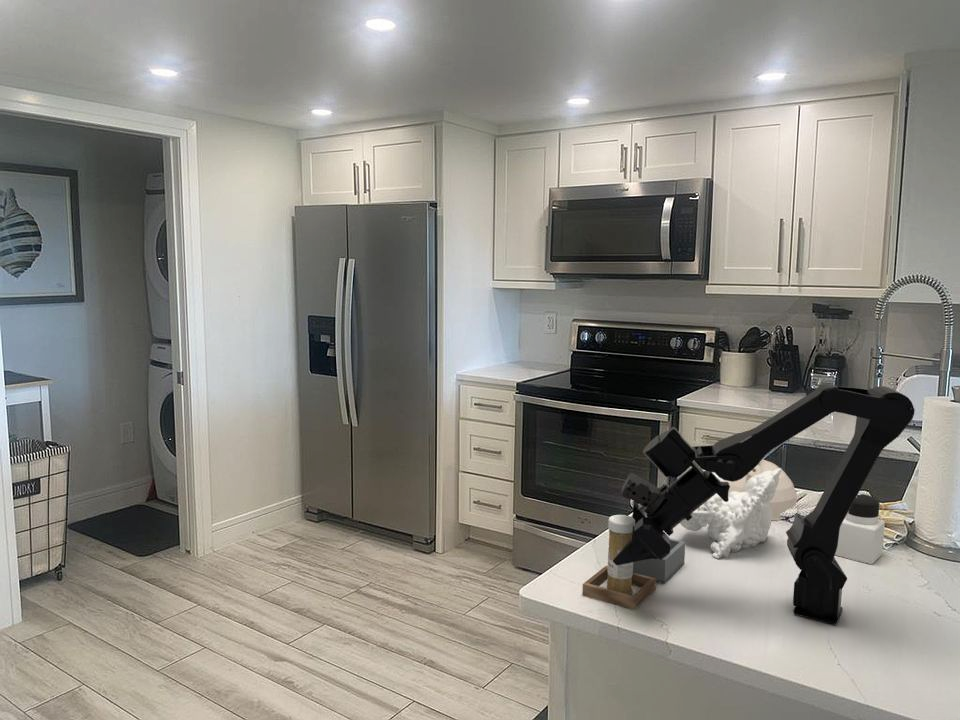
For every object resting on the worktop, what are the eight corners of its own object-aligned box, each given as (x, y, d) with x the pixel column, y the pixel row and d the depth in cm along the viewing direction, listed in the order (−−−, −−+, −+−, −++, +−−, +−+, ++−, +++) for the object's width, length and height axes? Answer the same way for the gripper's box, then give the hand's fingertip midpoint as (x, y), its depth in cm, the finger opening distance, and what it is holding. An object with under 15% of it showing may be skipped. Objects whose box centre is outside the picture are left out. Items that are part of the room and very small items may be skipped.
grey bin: (684, 564, 139) (685, 541, 138) (664, 584, 130) (665, 560, 129) (632, 551, 144) (633, 530, 144) (610, 569, 136) (610, 546, 135)
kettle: (704, 515, 166) (708, 438, 164) (709, 489, 186) (713, 420, 183) (800, 527, 159) (805, 447, 157) (795, 499, 178) (800, 427, 176)
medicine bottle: (882, 554, 144) (887, 496, 142) (872, 565, 139) (877, 505, 137) (844, 545, 149) (848, 488, 147) (832, 555, 143) (837, 496, 142)
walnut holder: (655, 589, 128) (656, 578, 128) (634, 610, 120) (634, 598, 120) (605, 575, 133) (606, 565, 133) (582, 594, 125) (582, 584, 125)
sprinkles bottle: (603, 586, 129) (605, 514, 127) (628, 585, 129) (630, 513, 127) (610, 598, 124) (612, 523, 122) (636, 597, 125) (638, 522, 123)
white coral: (789, 489, 156) (779, 459, 140) (782, 583, 149) (770, 562, 133) (700, 480, 165) (681, 451, 150) (690, 568, 158) (668, 547, 142)
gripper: (650, 447, 132) (587, 501, 135) (651, 476, 113) (579, 537, 117) (693, 493, 131) (628, 545, 135) (701, 529, 113) (626, 588, 117)
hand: (615, 552), depth 126 cm, fingers open, 9 cm apart
